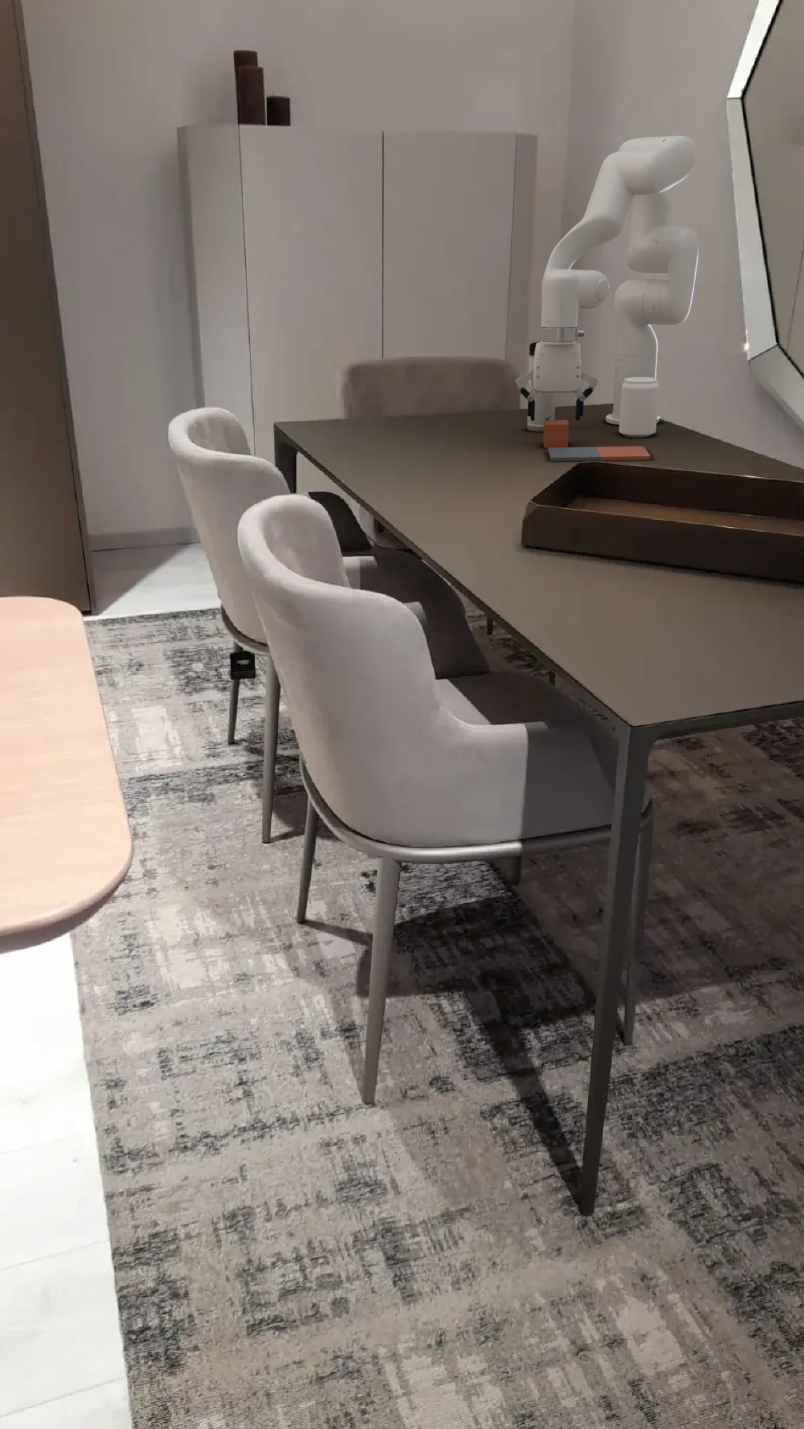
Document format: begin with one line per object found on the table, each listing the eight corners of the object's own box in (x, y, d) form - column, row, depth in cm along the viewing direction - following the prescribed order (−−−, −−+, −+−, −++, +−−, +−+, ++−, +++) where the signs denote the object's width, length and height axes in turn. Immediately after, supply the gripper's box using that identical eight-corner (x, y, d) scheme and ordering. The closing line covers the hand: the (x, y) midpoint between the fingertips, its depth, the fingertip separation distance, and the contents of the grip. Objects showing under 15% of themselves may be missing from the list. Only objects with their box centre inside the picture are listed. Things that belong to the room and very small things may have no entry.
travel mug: (554, 432, 253) (557, 340, 245) (525, 431, 254) (527, 341, 246) (556, 427, 259) (559, 337, 250) (528, 426, 260) (530, 337, 251)
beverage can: (644, 430, 252) (647, 375, 247) (662, 436, 245) (666, 380, 240) (612, 432, 250) (615, 378, 245) (629, 439, 243) (633, 383, 238)
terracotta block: (543, 443, 241) (543, 420, 239) (566, 443, 241) (567, 420, 239) (544, 448, 237) (545, 424, 235) (568, 447, 237) (568, 424, 235)
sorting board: (547, 451, 234) (548, 447, 233) (643, 450, 232) (643, 446, 232) (550, 461, 225) (551, 457, 224) (650, 460, 223) (650, 456, 223)
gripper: (598, 334, 232) (593, 417, 239) (516, 334, 233) (513, 417, 240) (602, 337, 225) (597, 422, 232) (517, 338, 226) (515, 422, 233)
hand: (554, 419), depth 236 cm, fingers open, 9 cm apart
